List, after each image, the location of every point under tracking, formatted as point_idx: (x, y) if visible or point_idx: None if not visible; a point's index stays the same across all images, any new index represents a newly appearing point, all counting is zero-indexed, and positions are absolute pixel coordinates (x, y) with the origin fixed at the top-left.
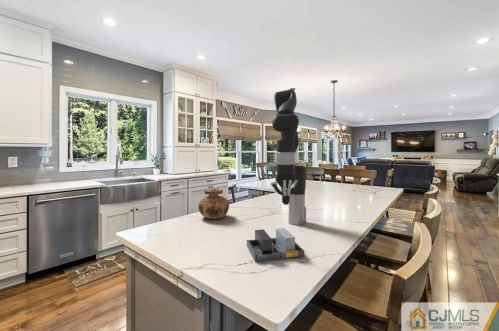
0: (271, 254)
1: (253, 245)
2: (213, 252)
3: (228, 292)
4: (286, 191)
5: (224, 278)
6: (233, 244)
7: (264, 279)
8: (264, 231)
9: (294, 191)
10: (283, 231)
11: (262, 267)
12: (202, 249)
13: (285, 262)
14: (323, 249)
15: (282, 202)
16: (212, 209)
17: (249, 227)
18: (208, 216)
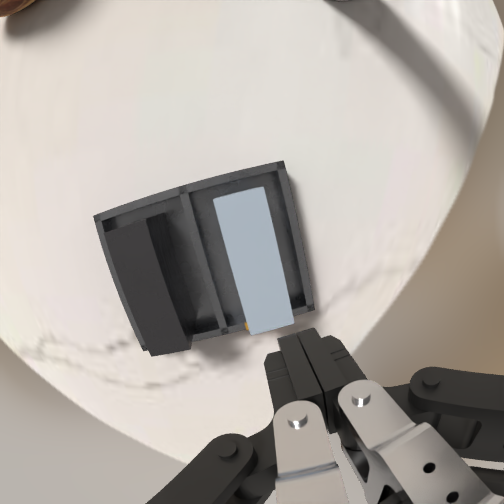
0: (194, 340)
1: (124, 221)
2: (28, 273)
3: (128, 432)
4: (367, 433)
5: (102, 399)
6: (61, 203)
7: (184, 409)
8: (150, 252)
9: (444, 429)
10: (251, 247)
11: (173, 366)
12: (3, 253)
13: (240, 338)
14: (384, 235)
15: (267, 362)
16: (1, 5)
17: (124, 20)
18: (8, 15)
